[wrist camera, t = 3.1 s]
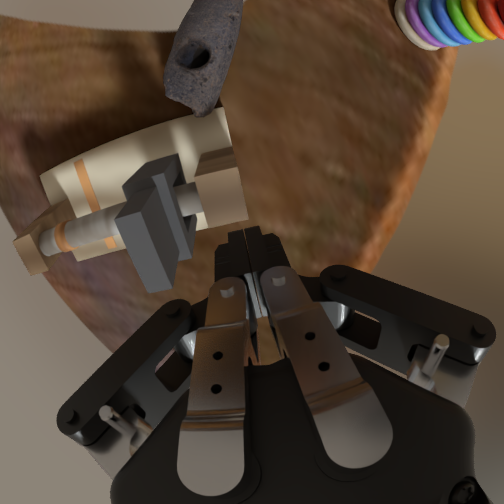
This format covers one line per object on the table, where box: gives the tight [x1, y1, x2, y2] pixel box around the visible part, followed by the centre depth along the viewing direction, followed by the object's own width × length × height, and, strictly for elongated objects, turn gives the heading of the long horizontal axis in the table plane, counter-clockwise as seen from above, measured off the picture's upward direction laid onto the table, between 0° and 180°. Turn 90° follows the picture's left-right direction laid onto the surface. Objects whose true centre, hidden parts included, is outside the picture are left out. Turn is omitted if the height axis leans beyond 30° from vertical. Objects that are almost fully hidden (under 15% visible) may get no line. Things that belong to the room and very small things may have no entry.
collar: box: [114, 153, 197, 293], centre depth 18 cm, size 6×3×10 cm, turn 10°
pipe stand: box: [13, 107, 249, 276], centre depth 23 cm, size 12×22×10 cm, turn 100°
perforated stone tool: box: [163, 0, 243, 118], centre depth 17 cm, size 15×5×7 cm, turn 163°
